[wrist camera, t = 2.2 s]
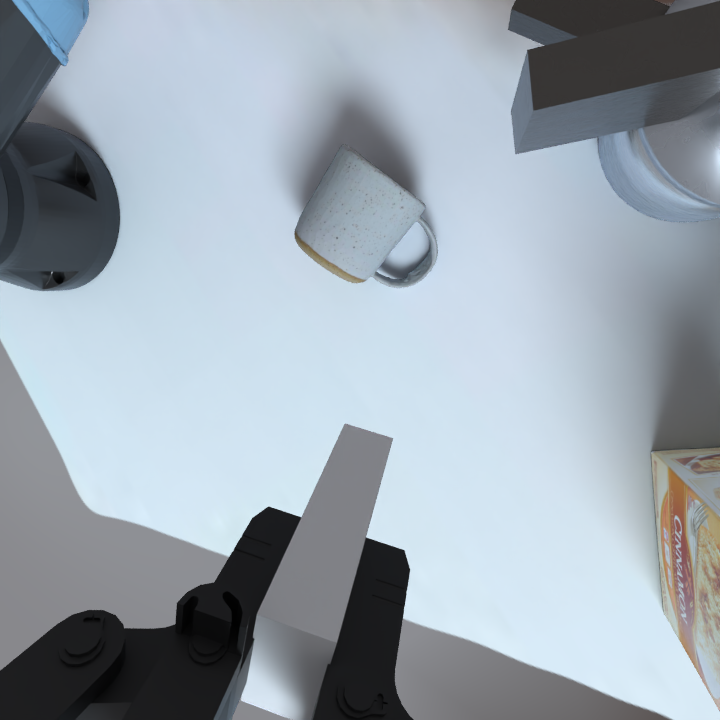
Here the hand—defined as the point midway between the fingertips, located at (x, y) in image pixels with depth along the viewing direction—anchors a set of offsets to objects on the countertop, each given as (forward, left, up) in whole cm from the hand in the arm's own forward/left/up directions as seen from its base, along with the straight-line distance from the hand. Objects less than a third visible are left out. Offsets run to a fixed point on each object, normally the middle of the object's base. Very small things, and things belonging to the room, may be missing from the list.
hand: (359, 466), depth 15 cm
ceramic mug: (-8, +7, -28) cm, 30 cm away
